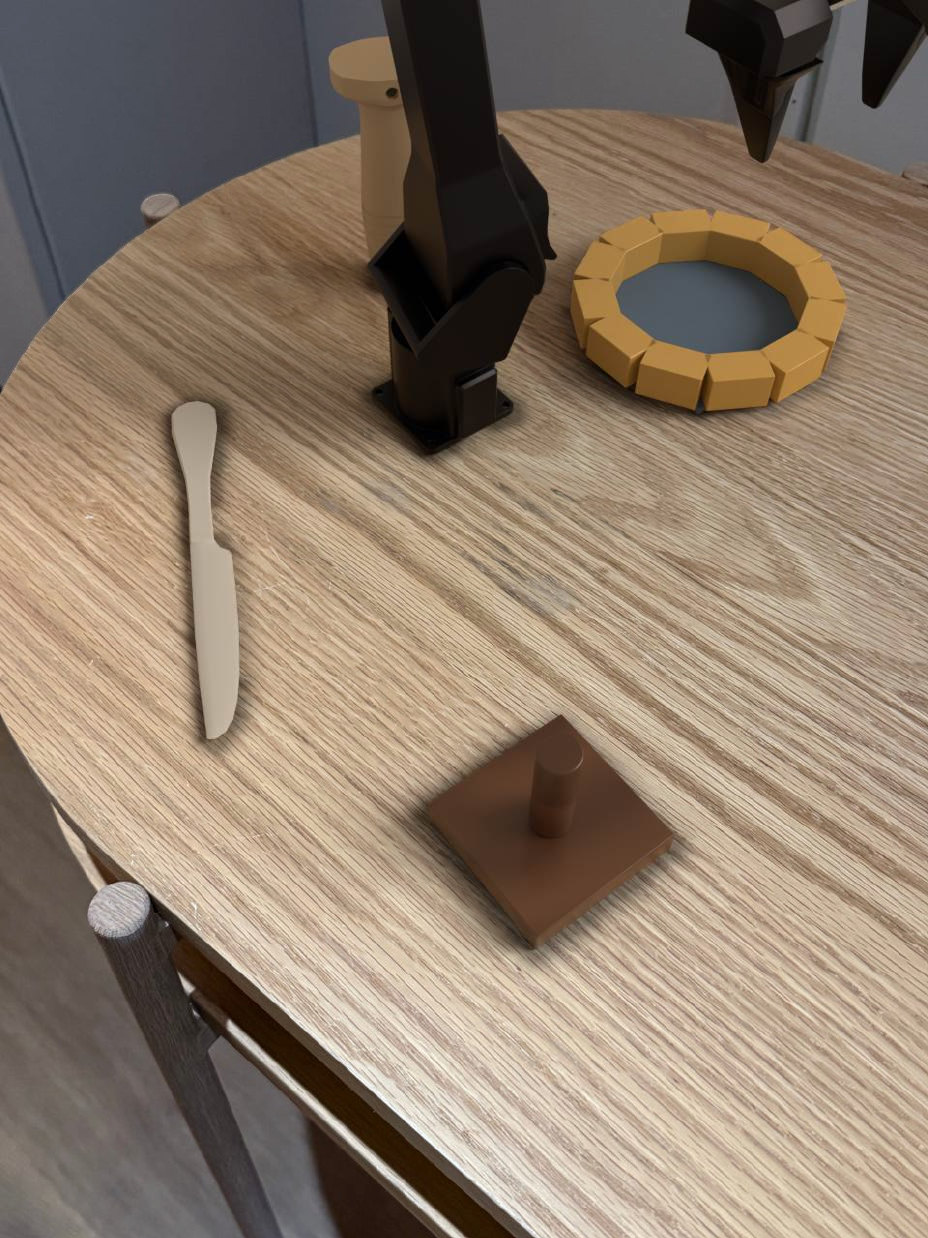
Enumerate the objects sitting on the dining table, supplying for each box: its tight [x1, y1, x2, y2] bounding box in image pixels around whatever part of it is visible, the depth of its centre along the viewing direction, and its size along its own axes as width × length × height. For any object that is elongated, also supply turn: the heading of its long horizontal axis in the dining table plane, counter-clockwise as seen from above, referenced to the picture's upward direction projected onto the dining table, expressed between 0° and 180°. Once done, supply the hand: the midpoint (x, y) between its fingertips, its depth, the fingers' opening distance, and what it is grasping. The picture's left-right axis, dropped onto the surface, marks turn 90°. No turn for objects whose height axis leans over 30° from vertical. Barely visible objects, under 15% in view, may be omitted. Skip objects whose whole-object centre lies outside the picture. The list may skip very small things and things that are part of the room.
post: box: [427, 714, 675, 950], centre depth 50 cm, size 8×8×8 cm
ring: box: [569, 208, 848, 412], centre depth 73 cm, size 17×17×2 cm
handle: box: [328, 35, 411, 260], centre depth 72 cm, size 5×6×15 cm
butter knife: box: [171, 400, 240, 740], centre depth 63 cm, size 1×24×3 cm
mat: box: [615, 260, 799, 415], centre depth 75 cm, size 12×12×1 cm
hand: (815, 131), depth 65 cm, fingers open, 9 cm apart
